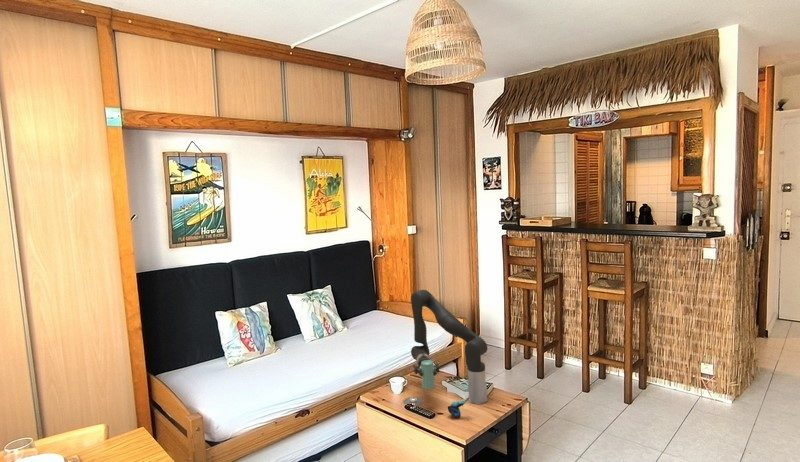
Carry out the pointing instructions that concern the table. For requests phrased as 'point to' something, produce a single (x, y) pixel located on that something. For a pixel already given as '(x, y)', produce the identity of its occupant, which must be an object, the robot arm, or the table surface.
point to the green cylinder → (427, 374)
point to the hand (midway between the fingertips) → (428, 374)
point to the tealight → (413, 399)
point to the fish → (456, 407)
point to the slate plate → (419, 402)
